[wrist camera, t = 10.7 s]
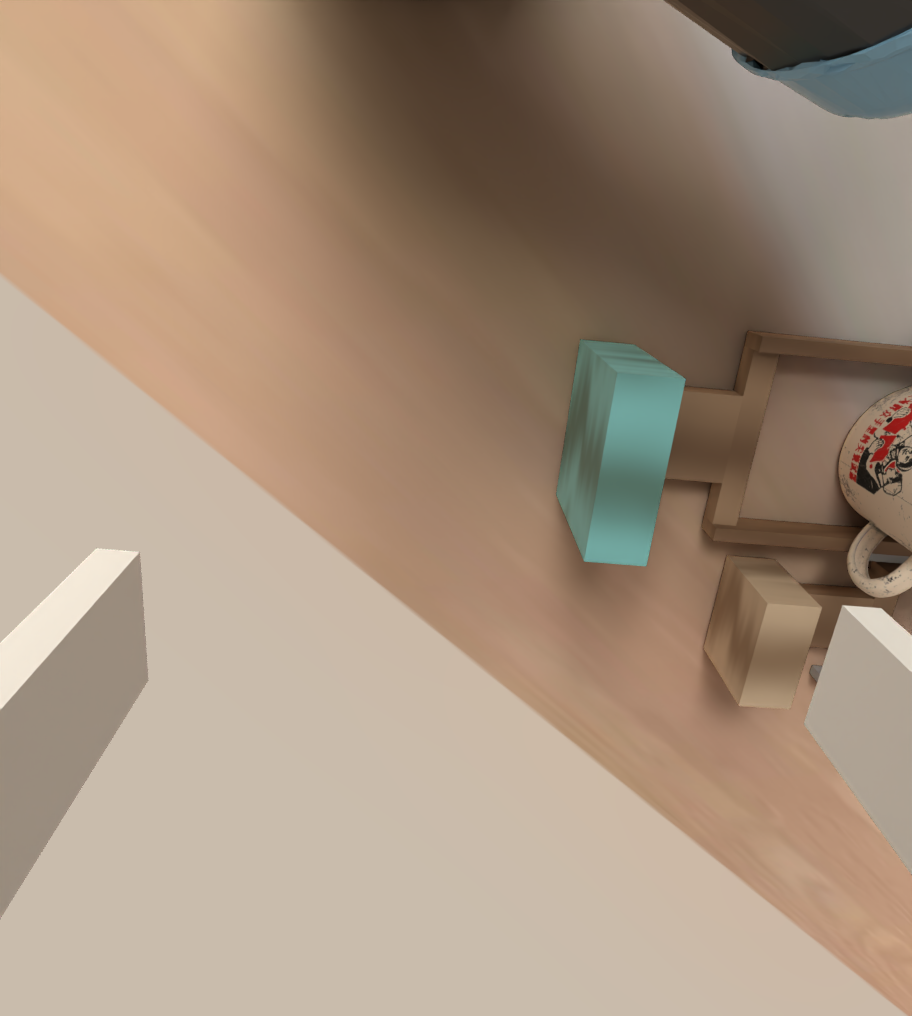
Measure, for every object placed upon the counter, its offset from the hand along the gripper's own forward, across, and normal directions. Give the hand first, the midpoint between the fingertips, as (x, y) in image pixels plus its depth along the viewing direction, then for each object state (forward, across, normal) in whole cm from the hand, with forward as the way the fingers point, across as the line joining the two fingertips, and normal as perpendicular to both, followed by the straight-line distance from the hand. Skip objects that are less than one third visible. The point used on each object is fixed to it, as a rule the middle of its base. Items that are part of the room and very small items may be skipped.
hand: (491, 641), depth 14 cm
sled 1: (+29, +24, -3) cm, 38 cm away
